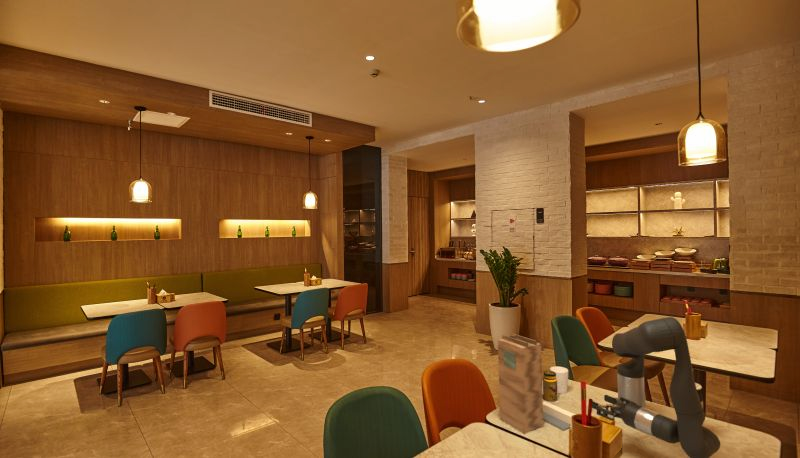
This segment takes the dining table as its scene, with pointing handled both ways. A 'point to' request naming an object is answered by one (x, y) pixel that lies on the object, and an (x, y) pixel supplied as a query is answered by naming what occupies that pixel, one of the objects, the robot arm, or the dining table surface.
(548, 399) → the condiment
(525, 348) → the walnut tower
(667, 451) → the dining table surface
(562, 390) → the white cup
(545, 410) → the ivory plug peg
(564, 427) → the slate board
